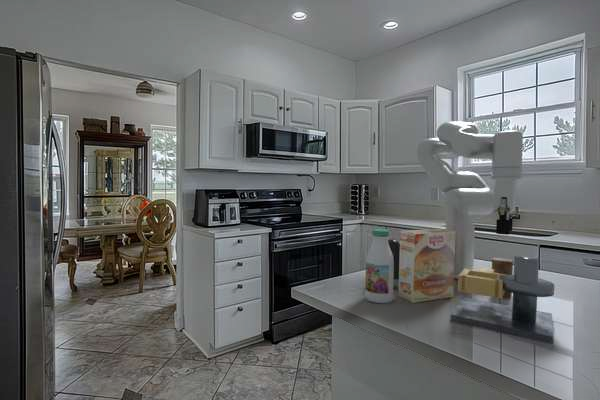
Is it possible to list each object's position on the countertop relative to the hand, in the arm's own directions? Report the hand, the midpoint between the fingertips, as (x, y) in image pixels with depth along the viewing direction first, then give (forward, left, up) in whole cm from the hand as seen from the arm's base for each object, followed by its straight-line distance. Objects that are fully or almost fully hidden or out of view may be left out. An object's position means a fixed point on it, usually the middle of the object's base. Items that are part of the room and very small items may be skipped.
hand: (504, 232), depth 101 cm
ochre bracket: (-3, -18, -13) cm, 22 cm away
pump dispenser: (-30, -10, -19) cm, 37 cm away
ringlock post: (+2, -21, -19) cm, 28 cm away
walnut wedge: (0, 0, -19) cm, 19 cm away
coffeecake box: (-18, -14, -19) cm, 30 cm away
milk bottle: (-28, -25, -19) cm, 42 cm away
